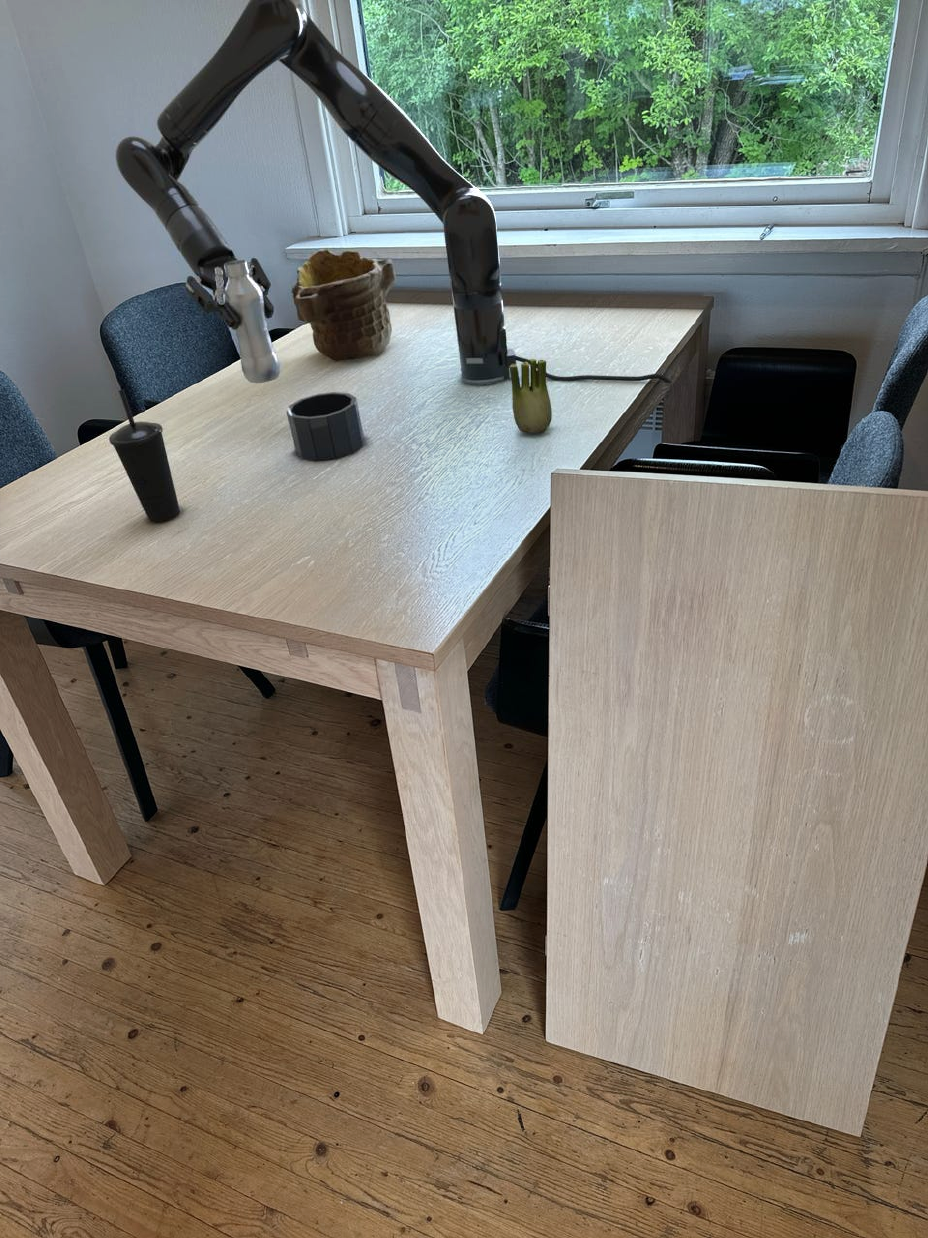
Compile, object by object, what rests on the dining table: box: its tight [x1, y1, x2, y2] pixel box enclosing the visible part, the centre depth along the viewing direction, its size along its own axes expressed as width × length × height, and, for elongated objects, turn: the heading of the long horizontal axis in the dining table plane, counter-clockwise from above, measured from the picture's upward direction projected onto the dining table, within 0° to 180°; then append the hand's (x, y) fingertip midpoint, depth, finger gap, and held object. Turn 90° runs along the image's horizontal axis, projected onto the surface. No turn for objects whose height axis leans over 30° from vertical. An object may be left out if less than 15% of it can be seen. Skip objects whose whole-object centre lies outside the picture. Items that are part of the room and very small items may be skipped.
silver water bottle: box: [224, 259, 282, 384], centre depth 149 cm, size 6×7×20 cm
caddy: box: [285, 391, 365, 462], centre depth 149 cm, size 12×12×8 cm
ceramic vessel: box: [291, 248, 397, 362], centre depth 188 cm, size 23×24×25 cm
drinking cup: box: [108, 389, 181, 524], centre depth 130 cm, size 8×8×20 cm
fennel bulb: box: [509, 358, 553, 435], centre depth 142 cm, size 6×5×12 cm
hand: (254, 320), depth 147 cm, fingers closed on silver water bottle, 6 cm apart
